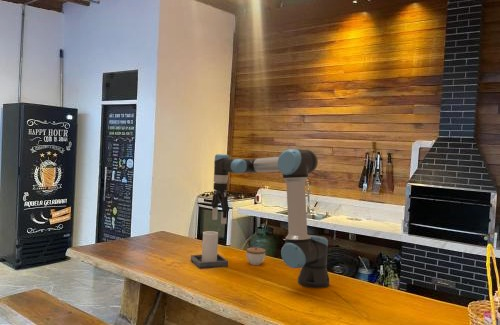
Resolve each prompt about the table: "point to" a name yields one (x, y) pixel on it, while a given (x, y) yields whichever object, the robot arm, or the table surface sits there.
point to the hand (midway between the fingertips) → (219, 221)
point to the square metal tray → (219, 263)
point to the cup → (209, 246)
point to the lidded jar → (255, 255)
